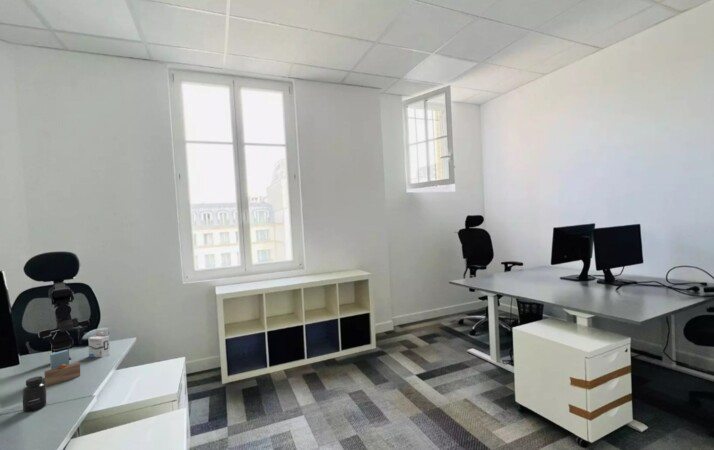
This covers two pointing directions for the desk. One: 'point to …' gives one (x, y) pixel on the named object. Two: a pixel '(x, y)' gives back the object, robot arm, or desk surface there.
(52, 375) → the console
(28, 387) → the supplement bottle
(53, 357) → the blue white block
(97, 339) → the ink box
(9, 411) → the desk surface
